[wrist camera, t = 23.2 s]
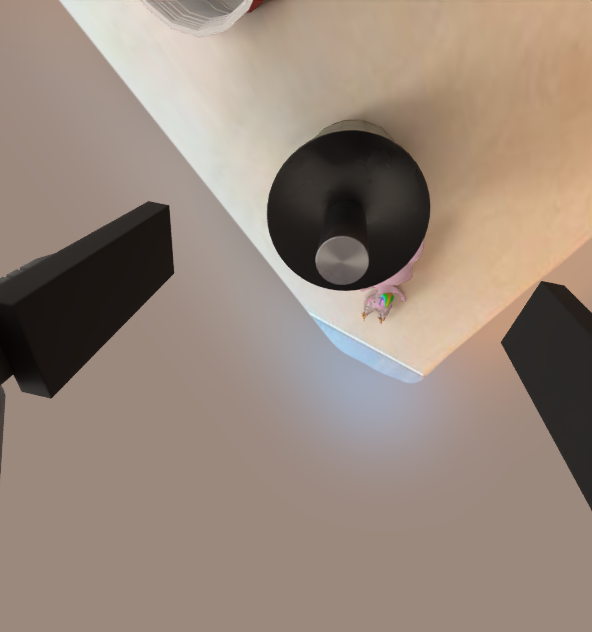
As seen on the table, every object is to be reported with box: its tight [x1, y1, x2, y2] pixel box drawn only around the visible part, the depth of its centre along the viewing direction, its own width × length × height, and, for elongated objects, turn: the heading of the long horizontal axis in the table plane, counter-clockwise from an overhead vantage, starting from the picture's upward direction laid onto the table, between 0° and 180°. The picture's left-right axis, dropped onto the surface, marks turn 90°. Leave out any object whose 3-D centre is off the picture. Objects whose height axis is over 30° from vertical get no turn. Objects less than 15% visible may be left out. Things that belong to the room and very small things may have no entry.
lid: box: [267, 129, 430, 291], centre depth 24 cm, size 13×13×9 cm
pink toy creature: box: [360, 239, 424, 323], centre depth 42 cm, size 6×6×15 cm
